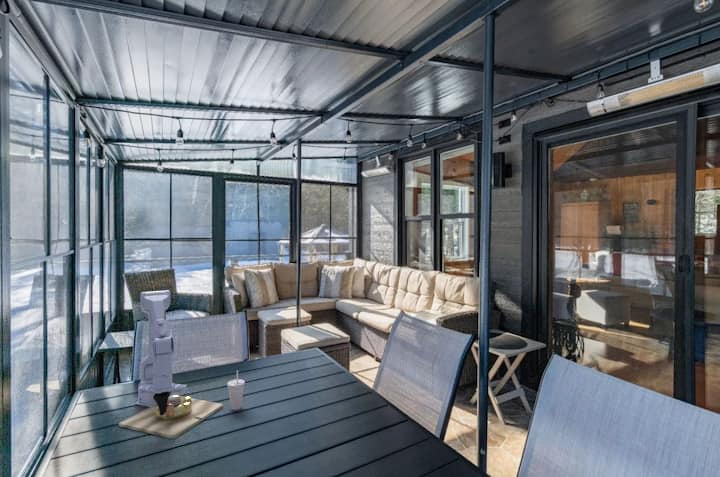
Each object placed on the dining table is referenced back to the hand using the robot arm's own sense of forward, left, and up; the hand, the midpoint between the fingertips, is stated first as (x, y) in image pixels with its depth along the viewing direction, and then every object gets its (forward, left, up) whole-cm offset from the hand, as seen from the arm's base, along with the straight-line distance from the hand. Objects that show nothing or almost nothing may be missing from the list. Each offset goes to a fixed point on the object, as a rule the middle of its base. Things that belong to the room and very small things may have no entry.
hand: (162, 413), depth 129 cm
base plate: (-5, +10, -6) cm, 12 cm away
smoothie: (+12, +23, -6) cm, 26 cm away
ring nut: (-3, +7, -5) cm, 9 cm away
